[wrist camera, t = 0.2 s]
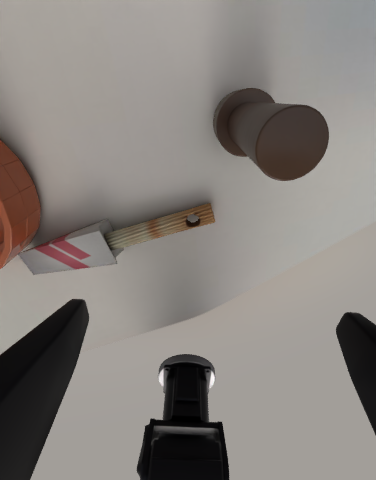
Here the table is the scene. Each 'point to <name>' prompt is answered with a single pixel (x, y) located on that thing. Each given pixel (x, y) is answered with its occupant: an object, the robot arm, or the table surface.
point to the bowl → (16, 206)
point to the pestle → (271, 133)
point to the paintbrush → (106, 242)
